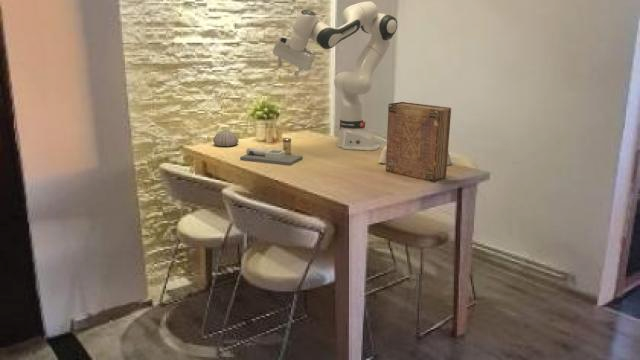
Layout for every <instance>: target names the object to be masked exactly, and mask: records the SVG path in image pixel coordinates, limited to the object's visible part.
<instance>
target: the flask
mask: <svg viewBox="0 0 640 360" xmlns="http://www.w3.org/2000/svg"><path fill="white" fill-rule="evenodd" d="M452 164H453V162H452V159H451V156H450V153H449V151H448V158H447V166H452Z"/></svg>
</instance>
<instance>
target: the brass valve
mask: <svg viewBox="0 0 640 360" xmlns="http://www.w3.org/2000/svg"><path fill="white" fill-rule="evenodd" d="M282 151H285V154H286V155H292V138H290V137H284V138H282Z"/></svg>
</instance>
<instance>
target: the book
mask: <svg viewBox="0 0 640 360" xmlns="http://www.w3.org/2000/svg"><path fill="white" fill-rule="evenodd" d="M387 106H388V110H387V133H386V135H387V136H386V146H387V154H386V163H385V172H388V173H393V174H396V175H400V176H406V177H409V178H413V179H417V180H418V179H419V180H421V181H427V182H429V183H430V182H432V183H435V182H436V181H437V180H440V179H447V170H448V165H447V158H448V152H449V145H450V143H449V141H450V128H451V118H452V117H451V115H452V108H451V107H446V106H440V105H431V104H430V105H429V104H422V103H421V104H420V103H414V102H404V101H399V102H394V103H388V105H387Z"/></svg>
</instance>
